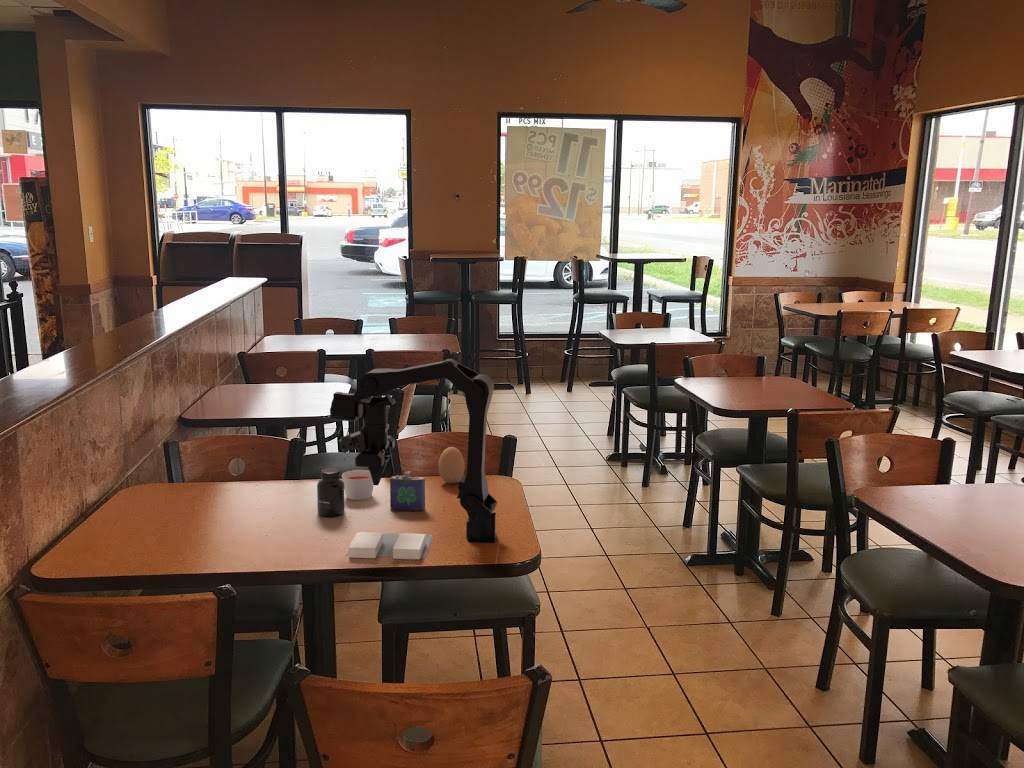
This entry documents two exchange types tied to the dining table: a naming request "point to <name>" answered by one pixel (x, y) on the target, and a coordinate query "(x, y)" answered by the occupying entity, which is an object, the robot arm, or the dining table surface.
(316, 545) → the dining table surface
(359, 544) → the tile
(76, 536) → the dining table surface
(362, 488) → the candle
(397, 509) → the flask
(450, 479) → the egg
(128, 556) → the dining table surface
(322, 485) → the supplement bottle
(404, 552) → the tile
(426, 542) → the mat
